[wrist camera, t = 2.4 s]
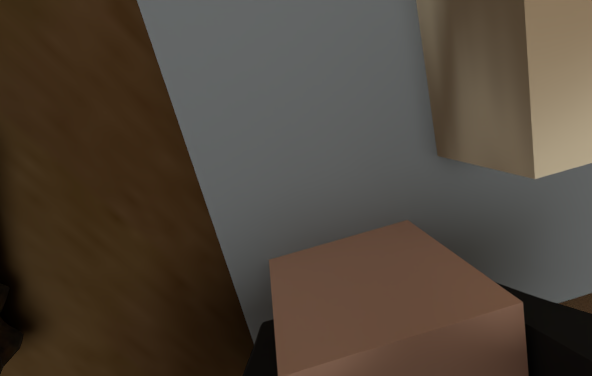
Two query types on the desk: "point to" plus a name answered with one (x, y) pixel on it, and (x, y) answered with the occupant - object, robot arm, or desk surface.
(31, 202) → the desk surface
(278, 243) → the rubber mat
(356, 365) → the terracotta cube
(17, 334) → the hand tool
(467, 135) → the beech block
